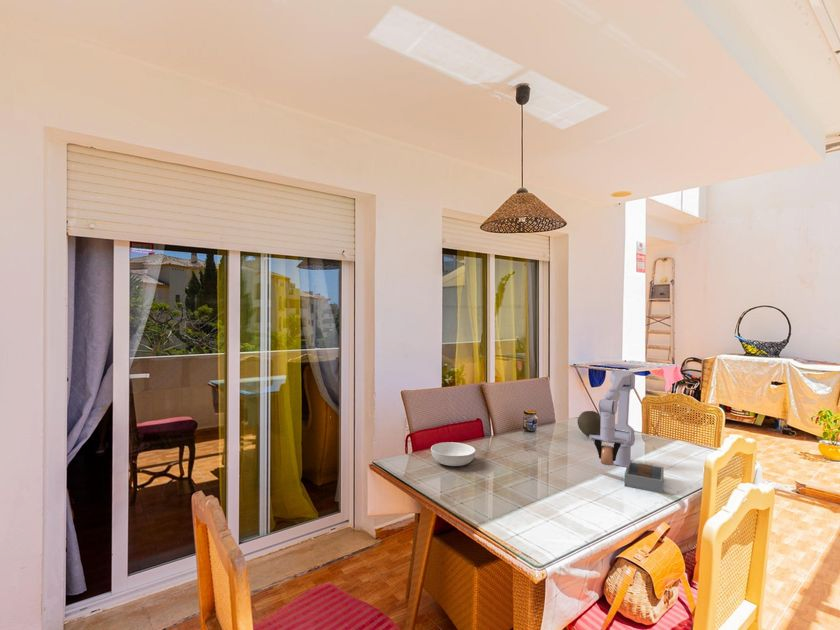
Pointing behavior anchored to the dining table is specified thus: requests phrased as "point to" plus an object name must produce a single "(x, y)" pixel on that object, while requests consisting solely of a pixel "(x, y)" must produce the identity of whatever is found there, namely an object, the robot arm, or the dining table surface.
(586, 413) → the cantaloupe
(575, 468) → the dining table surface
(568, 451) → the dining table surface
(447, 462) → the serving bowl
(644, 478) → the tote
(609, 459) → the terracotta cylinder
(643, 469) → the walnut block
